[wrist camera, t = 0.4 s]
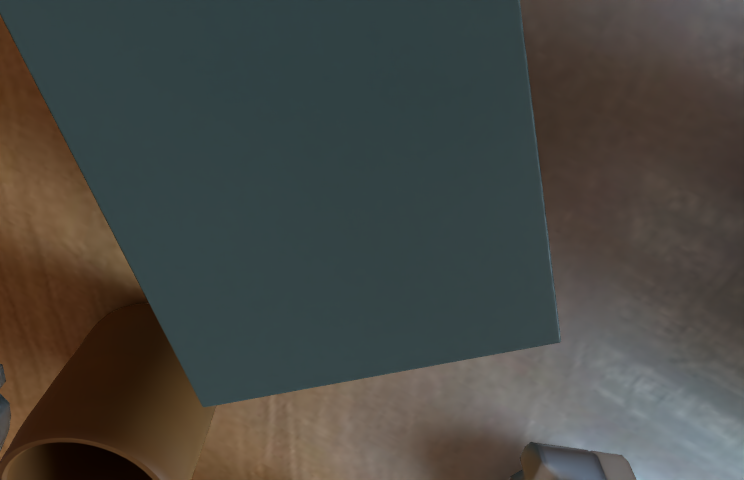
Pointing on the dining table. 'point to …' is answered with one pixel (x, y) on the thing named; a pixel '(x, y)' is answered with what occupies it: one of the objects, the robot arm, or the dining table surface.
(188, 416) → the mug
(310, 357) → the cabinet
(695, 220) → the dining table surface
